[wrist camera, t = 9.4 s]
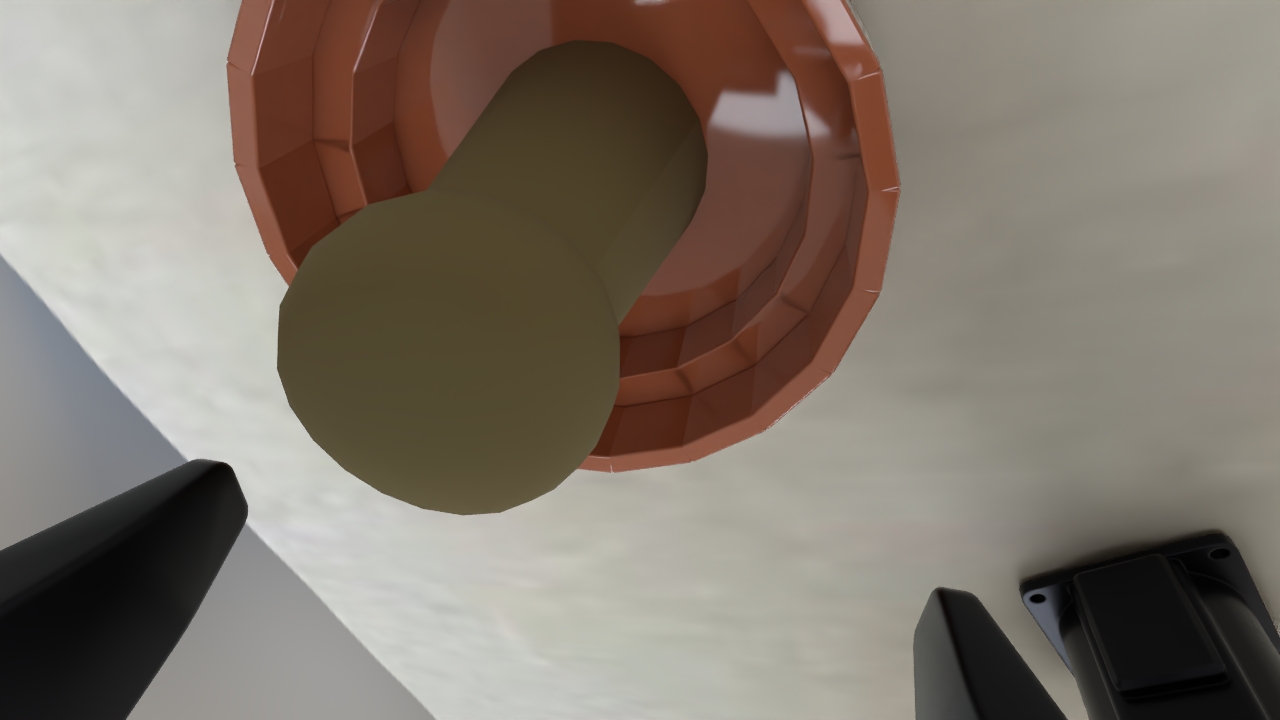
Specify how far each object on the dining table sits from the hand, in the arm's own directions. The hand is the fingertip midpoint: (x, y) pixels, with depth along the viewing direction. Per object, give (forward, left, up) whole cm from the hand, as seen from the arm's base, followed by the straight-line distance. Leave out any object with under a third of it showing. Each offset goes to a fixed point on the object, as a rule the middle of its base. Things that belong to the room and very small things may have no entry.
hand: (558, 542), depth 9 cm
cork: (+2, +2, -12) cm, 12 cm away
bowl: (+2, +2, -13) cm, 13 cm away
